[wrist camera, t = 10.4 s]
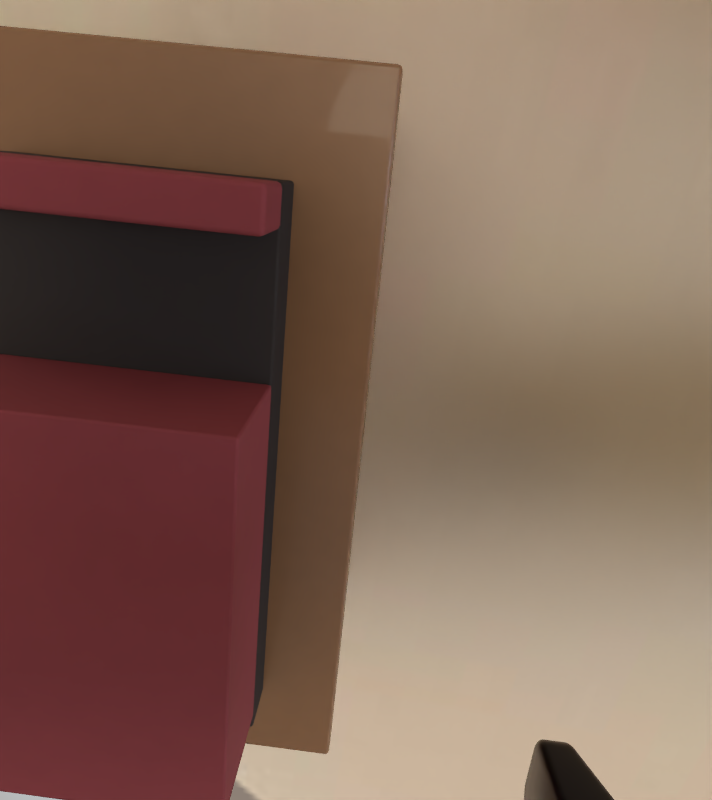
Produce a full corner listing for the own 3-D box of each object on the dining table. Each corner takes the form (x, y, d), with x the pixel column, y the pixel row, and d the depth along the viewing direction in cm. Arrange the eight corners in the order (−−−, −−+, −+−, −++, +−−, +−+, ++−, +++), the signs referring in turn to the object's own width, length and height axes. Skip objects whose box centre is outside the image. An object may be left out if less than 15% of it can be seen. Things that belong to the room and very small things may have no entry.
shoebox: (403, 105, 18) (403, 63, 11) (349, 589, 23) (328, 755, 17) (83, 73, 18) (-101, 15, 11) (104, 559, 23) (-13, 710, 17)
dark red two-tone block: (295, 180, 12) (248, 184, 8) (263, 689, 16) (223, 837, 12) (11, 151, 12) (-155, 141, 8) (51, 660, 16) (-50, 800, 13)
